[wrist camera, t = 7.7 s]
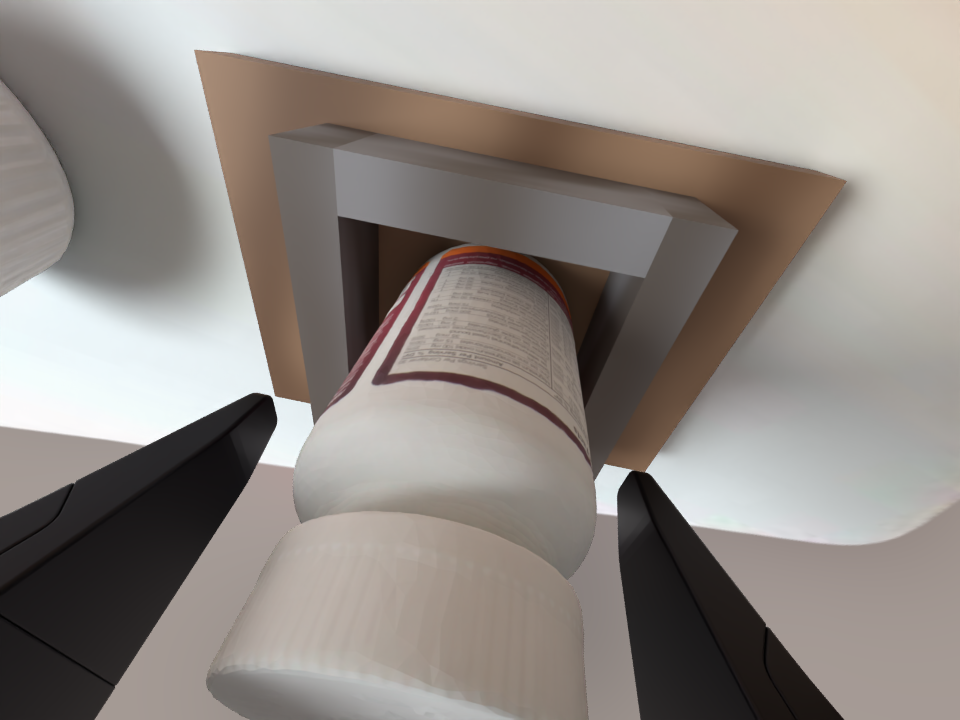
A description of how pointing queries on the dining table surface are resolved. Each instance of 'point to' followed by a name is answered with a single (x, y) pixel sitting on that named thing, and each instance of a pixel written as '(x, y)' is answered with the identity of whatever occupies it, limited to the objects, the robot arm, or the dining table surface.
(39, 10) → the dining table surface
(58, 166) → the ramekin
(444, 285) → the pill bottle
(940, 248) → the dining table surface
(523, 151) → the socket board
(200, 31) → the dining table surface
